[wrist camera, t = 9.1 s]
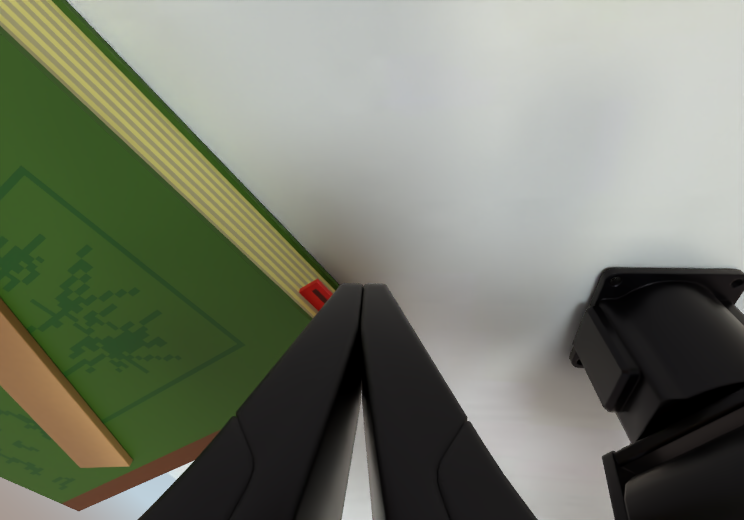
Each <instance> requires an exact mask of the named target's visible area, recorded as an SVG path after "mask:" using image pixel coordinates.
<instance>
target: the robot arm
mask: <svg viewBox="0 0 744 520" xmlns="http://www.w3.org/2000/svg"><path fill="white" fill-rule="evenodd" d="M615 277H616V279H614V280H611V279H613V278H615ZM743 291H744V273H743V272H742V271H741V270H737V269H672V268H610V269H608V270H606V271H605V272H603V274H602V275H601V277H600V280H599V282H598V285H597V287H596V290H595V292H594V295H593V298H592V300H591V303H590V305H589V307H588V308H587V309H586V311H585V313H584V316H583V318H582V321H581V324H580V326H579V329H578V331H577V334H576V336H575V339H574V341H573V348H572V351H571V353H570V356H569V359H570V361H571V363H572V365H573V366H574V367H577V368H584V369H585V371H586V373H587V375H588V377H589V379H590V381H591V383H592V385H593V387H594V389H595V391H596V393H597V395H598V397H599V399H600V401H601V403H602V406H603V407H604V408H605V409H606V410H607V411H608V412H616V414H617V416H618V418H619V420H620V422H621V424H622V426H623V428H624V430H625V432H626V434H627V436H628V438H629V440H630V442H631V444H630V445H628V446H626V447H624V448H622V449H621V450H619V451H617V452H615V451H611V452H609V453H607V454H606V455H604V456H602V460H603V465H604V469H605V474H606V479H607V484H608V489H609V493H610V498H611V503H612V508H613V513H614V517H615V520H744V314H743V313H742V312H741V311H740V310H739V309H738V308H737V307H736V306H735V303H736V301H737V300H738V298H739V297H740V295H741V294H742V292H743ZM361 393H362V405H363V418H364V430H365V441H366V452H367V463H368V474H369V486H370V497H371V508H372V519H373V520H538V519H537V518H536V517H535V516H534V514H533V513H532V512H531V510H530V509H529V508H528V506H527V505H526V504H525V502H524V501H523V499H522V498H521V497H520V495H519V494H518V493H517V491H516V490H515V489H514V487H513V486H512V485H511V483H510V482H509V481H508V479H507V478H506V476H505V475H504V474H503V472H502V471H501V469H500V468H499V466H498V465H497V463H496V461H495V460H494V458H493V457H492V455H491V454H490V452H489V451H488V449H487V448H486V446H485V445H484V443H483V442H482V440H481V438H480V437H479V435H478V433H477V432H476V430H475V429H474V427H473V425H472V424H471V422H470V421H467V416H466V414H465V413H464V411H463V409H462V408H461V406H460V405H459V403H458V401H457V400H456V398H455V396H454V395H453V393H452V391H451V390H450V388H449V387H448V385H447V383H446V382H445V380H444V378H443V377H442V375H441V374H440V372H439V370H438V369H437V367H436V365H435V364H434V362H433V360H432V359H431V357H430V356H429V354H428V352H427V351H426V349H425V347H424V346H423V344H422V343H421V341H420V339H419V338H418V336H417V334H416V333H415V331H414V329H413V328H412V326H411V325H410V323H409V321H408V320H407V318H406V316H405V315H404V313H403V312H402V310H401V308H400V307H399V305H398V303H397V302H396V300H395V298H394V297H393V295H392V294H391V292H390V290H389V289H388V287H387V286H386V285H385V284H365V285H364V288H363V285H362V284H360V283H343V284H341V285H340V286H339V287H338V288H337V290H336V291H335V292H334V293H333V295H332V296H331V297H330V298H329V299H328V301H327V302H326V303H325V304H324V305H323V307H322V308H321V309H320V310H319V312H318V313H317V314H316V315H315V316H314V318H313V319H312V320H311V321H310V322H309V324H308V325H307V326H306V327H305V329H304V330H303V331H302V332H301V333H300V335H299V336H298V337H297V338H296V340H295V341H294V342H293V343H292V344H291V346H290V347H289V348H288V349H287V350H286V352H285V353H284V354H283V355H282V357H281V358H280V359H279V360H278V361H277V363H276V364H275V365H274V366H273V367H272V369H271V370H270V371H269V372H268V374H267V375H266V376H265V377H264V378H263V380H262V381H261V382H260V383H259V384H258V386H257V387H256V388H255V389H254V391H253V392H252V393H251V394H250V395H249V397H248V398H247V399H246V400H245V402H244V403H243V404H242V405H241V406H240V408H239V409H238V410H237V411H236V416H232V417H231V418H230V419H229V421H228V422H227V423H226V424H225V425H224V427H223V428H222V429H221V430H220V432H219V433H218V434H217V435H216V436H215V438H214V439H213V440H212V441H211V442H210V443H209V444H208V446H207V447H206V448H205V449H204V450H203V451H202V453H201V454H200V455H199V456H198V457H197V458H196V459H195V461H194V462H193V463H192V464H191V465H190V466H189V467H188V468H187V469H186V470H185V472H184V473H183V474H182V475H181V476H180V477H179V478H178V479H177V480H176V481H175V482H174V483H173V484H172V485H171V486H170V487H169V488H168V489H167V490H166V491H165V492H164V494H163V495H162V496H161V497H160V498H159V499H158V500H157V501H156V502H155V503H154V504H153V505H152V506H151V507H150V508H149V509H148V510H147V511H146V512H145V513H144V514H143V515H142V516H141V517H140V518H139V519H138V520H341V519H342V513H343V507H344V501H345V495H346V489H347V483H348V477H349V471H350V465H351V459H352V453H353V447H354V441H355V435H356V429H357V423H358V417H359V410H360V403H361Z"/></svg>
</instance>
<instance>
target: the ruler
mask: <svg viewBox="0 0 744 520" xmlns="http://www.w3.org/2000/svg"><path fill="white" fill-rule="evenodd" d="M0 386H1V387H2V388H3V389H4V390H5V391H6V392H7V393H8V394H9V395H10V396H11V397H12V398H13V399H14V400H15V401H16V402H17V403H18V404H19V405H20V406H21V407H22V408H23V409H24V410H25V411H26V412H27V413H28V414H29V415H30V416H31V417H32V419H33V420H34V421H35V422H36V423H37V424H38V425H39V426H40V427H41V428H42V429H43V430H44V431H45V432H46V433H47V434H48V435H49V436H50V437H51V438H52V439H53V440H54V441H55V442H56V443H57V444H58V445H59V446H60V447H61V448H62V449H63V450H64V451H65V452H66V454H67V455H68V456H69V457H70V458H71V459H72V460H73V461H74V462H75V463H76V464H77V465H78V466H79V467H80V468H94V467H127V466H130V465H131V463H132V461H133V459H132V458H131V457H130V456H129V454H128V453H127V452H126V451H125V450H124V448H123V447H122V446H121V445H120V443H119V442H118V441H117V440H116V439H115V437H114V436H113V435H112V434H111V432H110V431H109V430H108V429H107V428H106V426H105V425H104V424H103V423H102V421H101V420H100V419H99V418H98V417H97V415H96V414H95V413H94V412H93V410H92V409H91V408H90V407H89V406H88V404H87V403H86V402H85V401H84V399H83V398H82V397H81V396H80V394H79V393H78V392H77V391H76V390H75V388H74V387H73V386H72V385H71V383H70V382H69V381H68V380H67V379H66V377H65V376H64V375H63V374H62V372H61V371H60V370H59V369H58V368H57V366H56V365H55V364H54V363H53V361H52V360H51V359H50V358H49V357H48V355H47V354H46V353H45V352H44V350H43V349H42V348H41V347H40V346H39V344H38V343H37V342H36V341H35V339H34V338H33V337H32V336H31V335H30V333H29V332H28V331H27V330H26V328H25V327H24V326H23V325H22V324H21V322H20V321H19V320H18V319H17V317H16V316H15V315H14V314H13V312H12V311H11V310H10V309H9V308H8V306H7V305H6V304H5V303H4V301H3V300H2V299H1V298H0Z"/></svg>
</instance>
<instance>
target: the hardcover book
mask: <svg viewBox="0 0 744 520" xmlns="http://www.w3.org/2000/svg"><path fill="white" fill-rule="evenodd" d="M339 286H340V285H339V284H338V283H337V282H336V281H335V280H334V279H333V278H332V277H331V276H330V274H329V273H328V272H327V271H326V270H325V269H324V268H323V267H322V266H321V265H320V264H319V263H318V262H317V261H316V260H315V259H314V258H313V257H312V256H311V255H310V254H309V253H308V252H307V251H306V250H305V248H304V247H303V246H302V245H301V244H300V243H299V242H298V241H297V240H296V239H295V238H294V237H293V236H292V235H291V234H290V233H289V232H288V231H287V230H286V229H285V228H284V227H283V226H282V225H281V224H280V223H279V221H278V220H277V219H276V218H275V217H274V216H273V215H272V214H271V213H270V212H269V211H268V210H267V209H266V208H265V207H264V206H263V205H262V204H261V203H260V202H259V201H258V200H257V199H256V198H255V197H254V195H253V194H252V193H251V192H250V191H249V190H248V189H247V188H246V187H245V186H244V185H243V184H242V183H241V182H240V181H239V180H238V179H237V178H236V177H235V176H234V175H233V174H232V173H231V172H230V171H229V169H228V168H227V167H226V166H225V165H224V164H223V163H222V162H221V161H220V160H219V159H218V158H217V157H216V156H215V155H214V154H213V153H212V152H211V151H210V150H209V149H208V148H207V147H206V146H205V145H204V143H203V142H202V141H201V140H200V139H199V138H198V137H197V136H196V135H195V134H194V133H193V132H192V131H191V130H190V129H189V128H188V127H187V126H186V125H185V124H184V123H183V122H182V121H181V120H180V119H179V118H178V116H177V115H176V114H175V113H174V112H173V111H172V110H171V109H170V108H169V107H168V106H167V105H166V104H165V103H164V102H163V101H162V100H161V99H160V98H159V97H158V96H157V95H156V94H155V93H154V92H153V90H152V89H151V88H150V87H149V86H148V85H147V84H146V83H145V82H144V81H143V80H142V79H141V78H140V77H139V76H138V75H137V74H136V73H135V72H134V71H133V70H132V69H131V68H130V67H129V66H128V64H127V63H126V62H125V61H124V60H123V59H122V58H121V57H120V56H119V55H118V54H117V53H116V52H115V51H114V50H113V49H112V48H111V47H110V46H109V45H108V44H107V43H106V42H105V41H104V40H103V38H102V37H101V36H100V35H99V34H98V33H97V32H96V31H95V30H94V29H93V28H92V27H91V26H90V25H89V24H88V23H87V22H86V21H85V20H84V19H83V18H82V17H81V16H80V15H79V14H78V13H77V11H76V10H75V9H74V8H73V7H72V6H71V5H70V4H69V3H68V2H67V1H66V0H0V298H1V299H2V300H3V301H4V303H5V304H6V305H7V306H8V308H9V309H10V310H11V311H12V312H13V314H14V315H15V316H16V317H17V319H18V320H19V321H20V322H21V324H22V325H23V326H24V327H25V328H26V330H27V331H28V332H29V333H30V335H31V336H32V337H33V338H34V339H35V341H36V342H37V343H38V344H39V346H40V347H41V348H42V349H43V350H44V352H45V353H46V354H47V355H48V357H49V358H50V359H51V360H52V361H53V363H54V364H55V365H56V366H57V368H58V369H59V370H60V371H61V372H62V374H63V375H64V376H65V377H66V379H67V380H68V381H69V382H70V383H71V385H72V386H73V387H74V388H75V390H76V391H77V392H78V393H79V394H80V396H81V397H82V398H83V399H84V401H85V402H86V403H87V404H88V406H89V407H90V408H91V409H92V410H93V412H94V413H95V414H96V415H97V417H98V418H99V419H100V420H101V421H102V423H103V424H104V425H105V426H106V428H107V429H108V430H109V431H110V432H111V434H112V435H113V436H114V437H115V439H116V440H117V441H118V442H119V443H120V445H121V446H122V447H123V448H124V450H125V451H126V452H127V453H128V454H129V456H130V457H131V458H132V459H133V461H132V463H131V465H130V466H127V467H94V468H80V467H79V466H78V465H77V464H76V463H75V462H74V461H73V460H72V459H71V458H70V457H69V456H68V455H67V454H66V452H65V451H64V450H63V449H62V448H61V447H60V446H59V445H58V444H57V443H56V442H55V441H54V440H53V439H52V438H51V437H50V436H49V435H48V434H47V433H46V432H45V431H44V430H43V429H42V428H41V427H40V426H39V425H38V424H37V423H36V422H35V421H34V420H33V419H32V417H31V416H30V415H29V414H28V413H27V412H26V411H25V410H24V409H23V408H22V407H21V406H20V405H19V404H18V403H17V402H16V401H15V400H14V399H13V398H12V397H11V396H10V395H9V394H8V393H7V392H6V391H5V390H4V389H3V388H2V387H1V386H0V477H2V478H4V479H6V480H9V481H11V482H13V483H15V484H18V485H20V486H22V487H25V488H28V489H29V490H32V491H34V492H36V493H38V494H40V495H43V496H45V497H47V498H50V499H52V500H54V501H57V502H59V503H61V504H63V505H66V506H68V507H70V508H72V509H75V510H77V511H80V510H83V509H85V508H87V507H89V506H92V505H94V504H96V503H99V502H101V501H103V500H105V499H108V498H110V497H112V496H114V495H117V494H119V493H121V492H123V491H126V490H128V489H130V488H133V487H135V486H137V485H139V484H142V483H144V482H146V481H148V480H151V479H153V478H155V477H157V476H160V475H162V474H164V473H167V472H169V471H171V470H173V469H176V468H178V467H180V466H182V465H185V464H187V463H189V462H191V461H194V460H195V459H196V458H197V457H198V456H199V455H200V454H201V453H202V451H203V450H204V449H205V448H206V447H207V446H208V444H209V443H210V442H211V441H212V440H213V439H214V438H215V436H216V435H217V434H218V433H219V432H220V430H221V429H222V428H223V427H224V425H225V424H226V423H227V422H228V421H229V419H230V418H231V417H232V416H236V411H237V410H238V409H239V408H240V406H241V405H242V404H243V403H244V402H245V400H246V399H247V398H248V397H249V395H250V394H251V393H252V392H253V391H254V389H255V388H256V387H257V386H258V384H259V383H260V382H261V381H262V380H263V378H264V377H265V376H266V375H267V374H268V372H269V371H270V370H271V369H272V367H273V366H274V365H275V364H276V363H277V361H278V360H279V359H280V358H281V357H282V355H283V354H284V353H285V352H286V350H287V349H288V348H289V347H290V346H291V344H292V343H293V342H294V341H295V340H296V338H297V337H298V336H299V335H300V333H301V332H302V331H303V330H304V329H305V327H306V326H307V325H308V324H309V322H310V321H311V320H312V319H313V318H314V316H315V315H316V314H317V313H318V312H319V310H320V309H321V308H322V307H323V305H324V304H325V303H326V302H327V301H328V299H329V298H330V297H331V296H332V295H333V293H334V292H335V291H336V290H337V288H338V287H339Z"/></svg>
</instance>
